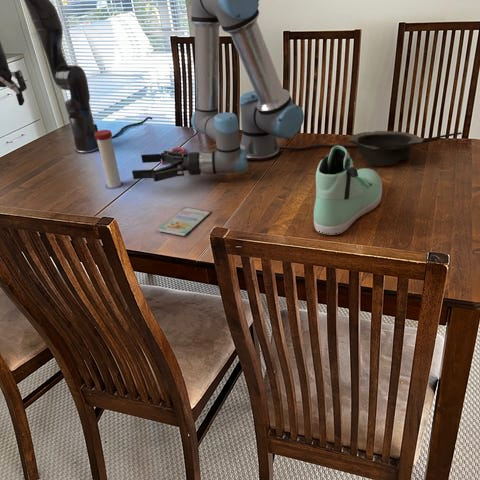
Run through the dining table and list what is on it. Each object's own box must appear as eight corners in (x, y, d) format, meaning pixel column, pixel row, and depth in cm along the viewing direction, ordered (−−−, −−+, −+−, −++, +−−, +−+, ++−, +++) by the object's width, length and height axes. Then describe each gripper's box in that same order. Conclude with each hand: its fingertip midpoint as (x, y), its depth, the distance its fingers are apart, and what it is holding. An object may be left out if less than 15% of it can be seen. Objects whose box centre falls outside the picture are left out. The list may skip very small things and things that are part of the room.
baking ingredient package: (157, 229, 135) (185, 206, 146) (157, 231, 135) (185, 208, 146) (183, 235, 131) (210, 211, 142) (183, 236, 131) (210, 212, 143)
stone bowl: (381, 177, 154) (382, 149, 150) (333, 159, 175) (333, 134, 170) (437, 158, 163) (440, 131, 159) (386, 143, 183) (387, 119, 179)
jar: (106, 188, 163) (94, 136, 153) (108, 183, 167) (96, 132, 157) (120, 187, 163) (109, 135, 154) (122, 181, 167) (111, 130, 158)
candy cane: (151, 162, 180) (151, 158, 180) (178, 149, 190) (177, 145, 190) (163, 165, 177) (162, 161, 176) (189, 151, 187) (189, 147, 187)
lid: (93, 140, 154) (92, 136, 153) (96, 135, 158) (95, 130, 157) (110, 139, 154) (109, 134, 153) (113, 133, 158) (112, 129, 158)
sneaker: (389, 187, 148) (396, 123, 138) (356, 242, 123) (361, 168, 112) (346, 181, 154) (350, 119, 144) (306, 232, 129) (307, 161, 118)
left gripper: (18, 48, 148) (33, 101, 157) (-29, 52, 148) (-10, 105, 157) (10, 53, 142) (26, 107, 151) (-39, 57, 142) (-19, 111, 150)
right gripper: (197, 189, 150) (131, 193, 152) (205, 159, 171) (147, 162, 173) (194, 167, 146) (126, 171, 148) (203, 139, 167) (143, 142, 169)
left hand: (8, 106), depth 154 cm, fingers open, 8 cm apart
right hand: (137, 166), depth 160 cm, fingers open, 13 cm apart
